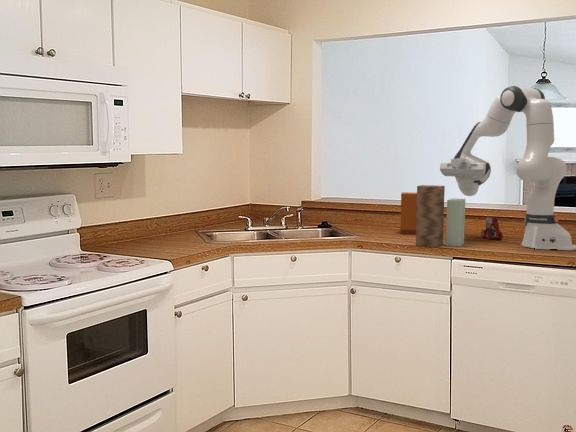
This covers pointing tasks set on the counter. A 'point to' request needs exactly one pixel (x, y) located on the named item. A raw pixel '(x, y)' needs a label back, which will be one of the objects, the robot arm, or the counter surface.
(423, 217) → the walnut box
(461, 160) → the aluminium bar
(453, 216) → the green block
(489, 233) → the toy fire truck
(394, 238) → the counter surface
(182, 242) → the counter surface
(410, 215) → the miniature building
